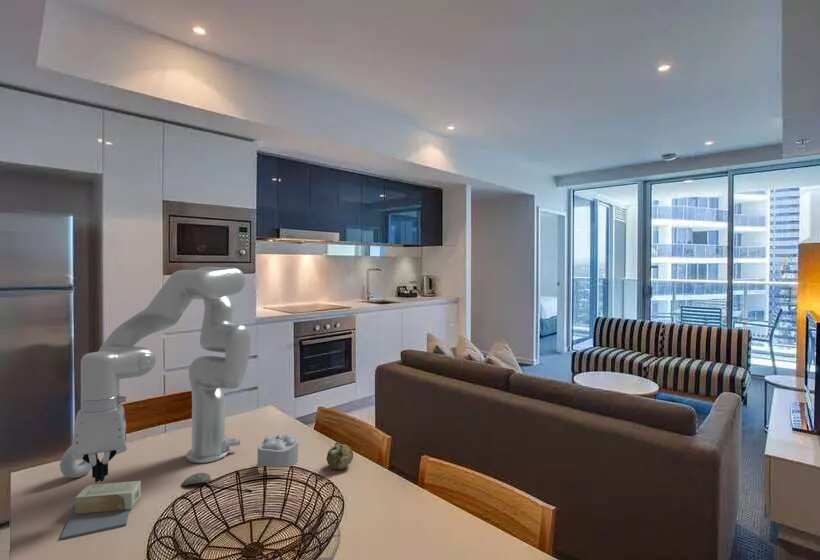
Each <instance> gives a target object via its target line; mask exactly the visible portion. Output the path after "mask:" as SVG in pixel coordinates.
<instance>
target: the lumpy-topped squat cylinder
mask: <svg viewBox="0 0 820 560" xmlns="http://www.w3.org/2000/svg"><path fill="white" fill-rule="evenodd" d="M298 455H299V440H298V437H297V436H295V435H293V434H290V433H289V434H287V433H278V434H277V435H275V436H271V435H270V436H269V435H268V436H266V437H265V438H264V440H263V442H261V443H260V444H259V445H258V446H257V459H256V460H257V462H256V463H257V464H256V465H257V467H261V466H291V465H296V463H297V462H298V460H299V456H298ZM298 463H299V462H298Z"/></svg>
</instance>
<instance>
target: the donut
mask: <svg viewBox="0 0 820 560" xmlns="http://www.w3.org/2000/svg"><path fill="white" fill-rule="evenodd" d="M97 454H98V458H99V456H100V453H97ZM72 456H73V444H72V445H70V447H68V448H67V449H66V451H64V453H63V455H62V456H61V459H60V461H59V462H60V463H59V468H60V472H61V473H62V475H63V476H65V477H66V478H71V479H77V478H80V477H83V476H85V475H86V474H88V473H90V472H91V471H92V466H91V465H90V464H89V463H88V462H86V461H85V460H81V462H80V463H79V464H76V461H77V460H75V459H72Z"/></svg>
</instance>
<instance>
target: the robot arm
mask: <svg viewBox="0 0 820 560" xmlns="http://www.w3.org/2000/svg"><path fill="white" fill-rule="evenodd" d="M245 285H246V276H245V274H244V273H243V271H242V270H240V269H239V268H237V267H231V266H230V267H225V266H221V267H220V266H203V267H199V268H197V269H179V270H177V271H175V272H173V273H172V274H171V275H170V276H169V277H168V279H167V280H166V281H165V283H164V284H163V285H162V286H161V288H160V289H159V291H158V292H157V293H156V295H154V297H153V299H152V300H151V302H150V303H149V304H148V305H147V307H145V308H144V309H143V310H141V311H139V312H137V313H136V314H134V315H133V316H131V317H129V319H127V320H126V321H124V322H123V323H122V324H120V325H119V326H117V327H116V328H115V329H114V330H113V331H112V332H111V333H110V334H109V336H107V338H106V340H105V341H104V342H103V344H102V345H101V346H100V348H99V350H98V351H94V352H89V353H85V354H84V355H83V356H82V357H81V360H80V409H79V410H78V411H77V413H76V418H75V421H74V427H73V428H74V429H73V441H72V445H73V456H72V459H75V460H76V461H77V460H79V461H80V460H81V461H83V460H85V461H86V462H88V463H89V464H90V465H91V466H92V469H91V478H92V479H94V482H95V483H98V482H104V480H105V477H107V476H108V475H109V462H110V461H111V460H112V459H113V458H114V457H115V456H117V455H119V454H123V453H125V452H126V451H127V450H128V447H127V443H126V441H127V421H126V420H127V419H126V413H125V408H124V405H123V403H127V395H126V396H122V395H121V394H120V380H121V379H130V378H139V377H143V376H145V375H147V374H149V373H150V372H151V371H152V370H153V369H154V367H155V366H156V356H155V353H154V352H153V351H152V350H150V349H148V348H146V347H143V346H135V345H137V344H138V342H140V341H141V340H143V339H144V338H146V337H148V336H150V335H152V334H154V333H158V332H161V331H164V330H166V329H169V328H171V327H173V326H175V325H177V323H178V321H179V320H180V319H181V317H182V315H183V314H184V312H185V311H186V309H188V307H189V305H190V304H191V303H192V301H194V300H203V305H204V311H203V319H202V325H201V330H200V337H199V346H200V347H201V348H202V350H204V351H207V352H212V353H224V354H225V355H224V356H225V357H224V356H215V355H202V356H199V357H197V358H195V359H193V361H192V362H191V363H190V365H189V368H188V380H189V385H190V389H191V406H192V407H191V449H189V450H188V451H187V452H186V454H185V458H186V460H187V461H188V462H191V463H195V464H196V463H197V464H205V463H212V462H215V461H218V460H222V459H223V457H224V458H225V457H227V456H228V455H229V454H230V452H229V451H230V449H231V448H230V447H238V446H239V447H240V445H241V438H240V439H236V438H235V437H233V438H226V435H225V434H226V433H225V431H226V430H225V425H226V422H225V421H226V417H225V416H226V410H225V409H226V398H225V397H226V396H225V394H224V390H235V389H238V388H239V387H240V386H241V385H242V384H243V382H244V381H245V379H246V375H247V368H248V364H249V363H248V362H249V358H250V357H249V355H250V349H251V341H252V338H251V333H250V330H249V328H248V327H247V326H245V325H244V324H242V323H234V322H233V313H234V312H233V311H234V307H233V306H234V305H233V302H232V300H231V297H230V296H234V295H237V294H240V292H242V290H243V289H244V288H245ZM232 322H233V323H232ZM223 389H224V390H223ZM97 453H99V454H100V453H103V457H102V458H101V460H100V459H99V457H98V454H97ZM228 453H229V454H228ZM227 454H228V455H227ZM226 455H227V456H226ZM221 458H222V459H221Z"/></svg>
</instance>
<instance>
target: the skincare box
mask: <svg viewBox="0 0 820 560" xmlns="http://www.w3.org/2000/svg"><path fill="white" fill-rule="evenodd" d="M141 497H142V481H141V480H134V481H122V482H110V483H109V482H108V483H97V484H88V485H87V486H85V488H83V489H82V490H81V491H80V492H79V493H78V494H77V496H75V502H74V506H75V508H76V514H83V513H94V512H105V511H116V510H128V509H129V510H133V508H134V506H136V504H137V503H138V501H139V500H140V498H141Z"/></svg>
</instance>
